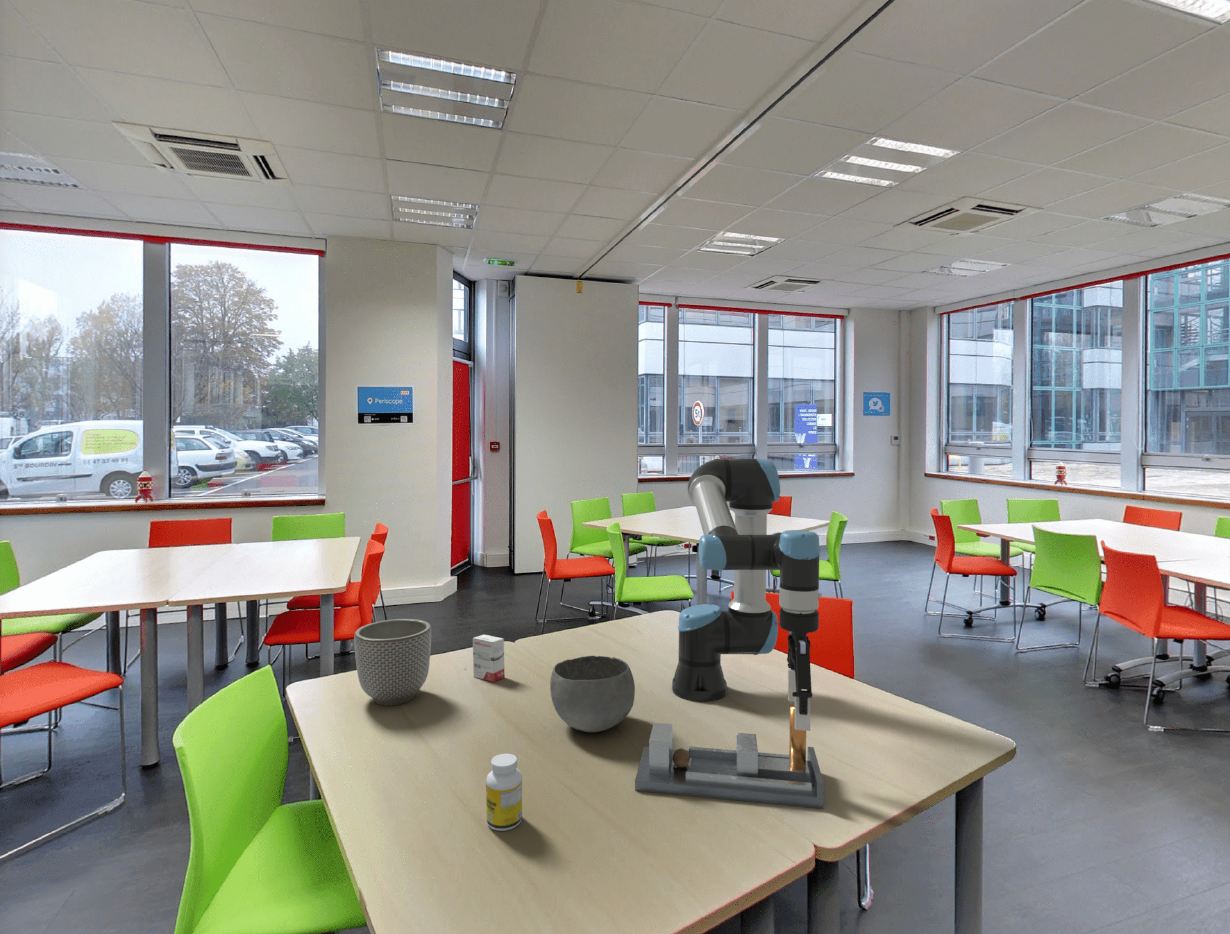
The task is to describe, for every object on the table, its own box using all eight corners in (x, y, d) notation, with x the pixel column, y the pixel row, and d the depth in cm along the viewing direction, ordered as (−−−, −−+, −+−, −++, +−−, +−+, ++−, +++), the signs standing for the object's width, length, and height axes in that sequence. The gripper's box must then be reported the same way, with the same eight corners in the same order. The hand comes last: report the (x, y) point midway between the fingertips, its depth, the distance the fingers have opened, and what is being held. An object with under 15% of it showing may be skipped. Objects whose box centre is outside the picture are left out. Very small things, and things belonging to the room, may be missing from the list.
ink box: (505, 677, 184) (505, 638, 184) (494, 682, 180) (493, 642, 180) (484, 671, 189) (483, 633, 188) (472, 676, 185) (471, 637, 184)
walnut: (668, 766, 130) (668, 749, 130) (681, 760, 132) (681, 743, 132) (681, 773, 127) (681, 755, 127) (693, 767, 129) (693, 750, 129)
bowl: (647, 717, 158) (647, 658, 157) (613, 753, 139) (613, 687, 138) (576, 702, 166) (575, 647, 166) (534, 735, 148) (534, 673, 147)
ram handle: (736, 780, 124) (737, 710, 123) (736, 760, 131) (736, 695, 131) (810, 786, 121) (811, 716, 121) (805, 766, 129) (806, 700, 128)
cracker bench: (634, 790, 124) (634, 746, 124) (644, 755, 138) (644, 715, 138) (823, 808, 118) (823, 762, 118) (813, 770, 132) (813, 728, 131)
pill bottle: (488, 812, 117) (488, 751, 117) (523, 810, 118) (523, 750, 117) (484, 833, 111) (483, 769, 110) (521, 831, 111) (520, 768, 111)
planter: (338, 706, 164) (337, 635, 163) (391, 680, 182) (390, 615, 182) (398, 718, 157) (396, 644, 156) (447, 690, 175) (446, 622, 174)
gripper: (828, 627, 111) (827, 745, 112) (810, 595, 136) (809, 691, 136) (785, 625, 112) (784, 741, 113) (774, 593, 137) (774, 689, 138)
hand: (798, 714), depth 125 cm, fingers open, 13 cm apart
